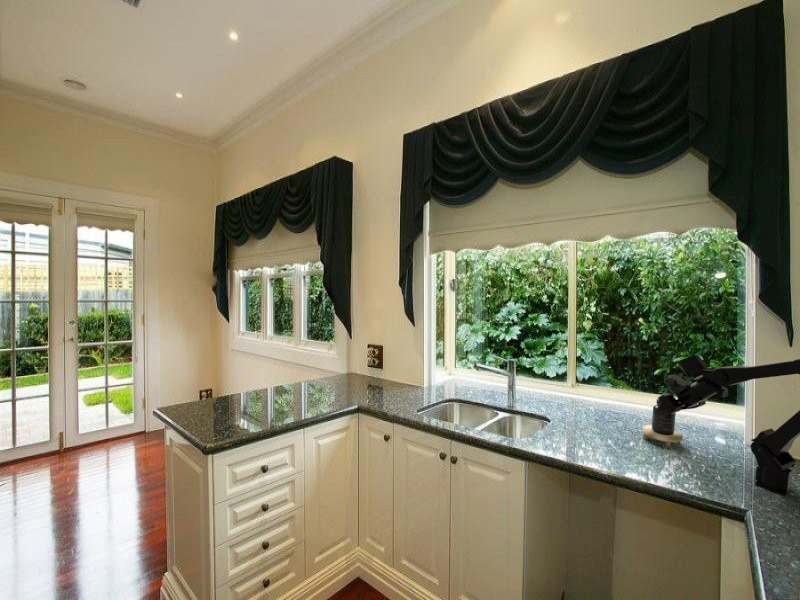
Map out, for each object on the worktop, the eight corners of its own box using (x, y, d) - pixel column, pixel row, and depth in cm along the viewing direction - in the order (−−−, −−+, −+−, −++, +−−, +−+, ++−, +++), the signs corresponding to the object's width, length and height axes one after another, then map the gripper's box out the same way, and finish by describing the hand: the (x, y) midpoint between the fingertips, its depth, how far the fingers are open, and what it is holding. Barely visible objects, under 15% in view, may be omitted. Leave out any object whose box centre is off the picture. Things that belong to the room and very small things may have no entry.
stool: (688, 443, 136) (688, 434, 136) (672, 451, 130) (673, 442, 130) (651, 431, 147) (652, 422, 146) (635, 438, 140) (636, 428, 140)
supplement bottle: (649, 426, 142) (651, 395, 141) (671, 429, 140) (673, 397, 139) (653, 433, 136) (656, 401, 135) (676, 437, 133) (679, 404, 132)
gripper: (698, 366, 135) (663, 388, 146) (666, 372, 127) (632, 394, 138) (723, 395, 129) (684, 415, 140) (690, 403, 121) (652, 423, 132)
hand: (663, 411), depth 138 cm, fingers open, 9 cm apart
